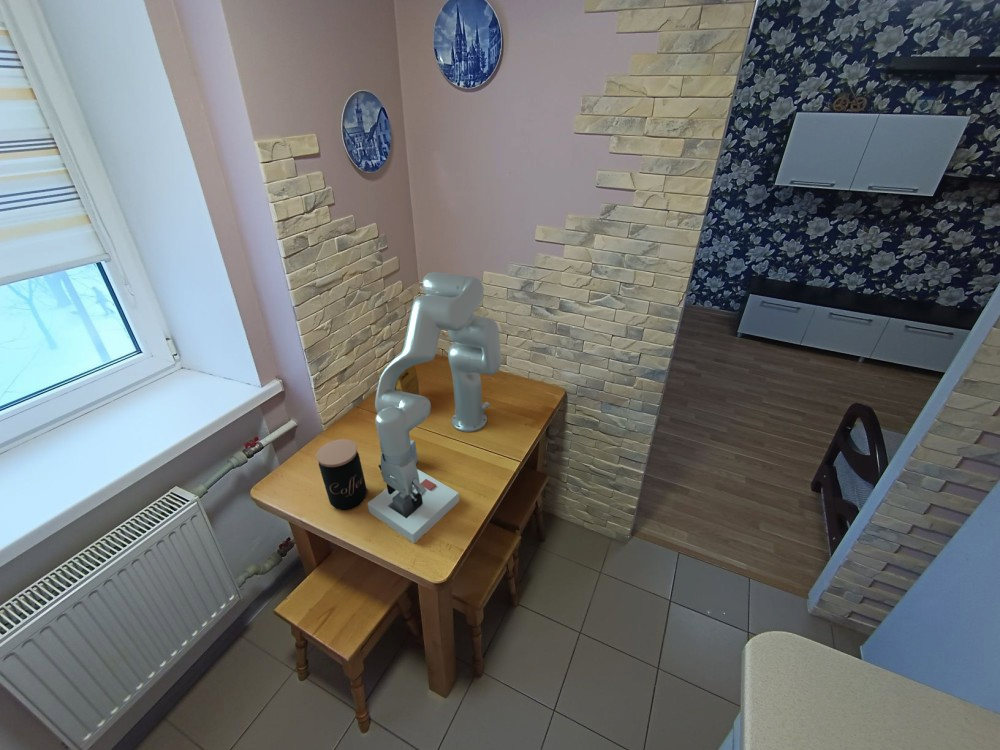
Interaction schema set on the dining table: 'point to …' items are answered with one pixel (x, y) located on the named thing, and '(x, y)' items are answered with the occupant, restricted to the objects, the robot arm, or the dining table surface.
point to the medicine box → (414, 451)
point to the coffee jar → (342, 474)
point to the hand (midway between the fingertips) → (405, 498)
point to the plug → (403, 504)
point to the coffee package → (408, 381)
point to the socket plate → (425, 517)
